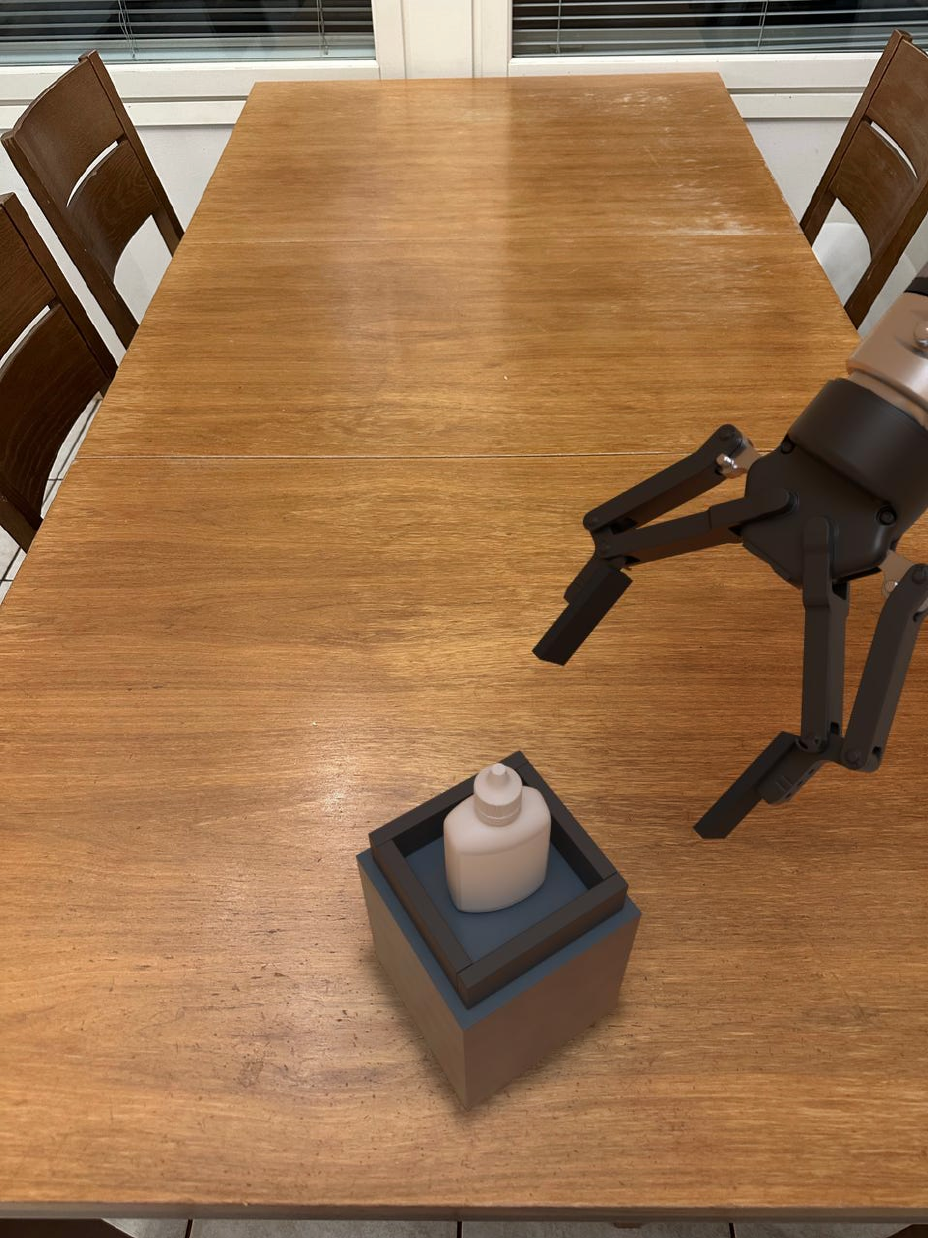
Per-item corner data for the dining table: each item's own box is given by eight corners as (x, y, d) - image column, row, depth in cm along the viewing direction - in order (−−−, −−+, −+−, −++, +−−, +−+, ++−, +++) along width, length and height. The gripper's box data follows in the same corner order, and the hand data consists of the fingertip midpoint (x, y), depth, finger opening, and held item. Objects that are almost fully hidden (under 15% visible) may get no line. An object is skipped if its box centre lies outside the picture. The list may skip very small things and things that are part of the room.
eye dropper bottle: (540, 926, 53) (551, 816, 44) (441, 911, 54) (433, 800, 45) (548, 856, 56) (560, 739, 47) (454, 842, 57) (449, 725, 48)
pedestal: (615, 1008, 65) (649, 888, 51) (467, 1112, 60) (462, 1011, 47) (515, 872, 71) (522, 735, 58) (376, 956, 67) (349, 830, 54)
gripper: (691, 273, 49) (456, 586, 55) (1144, 548, 35) (763, 930, 41) (745, 333, 55) (527, 610, 61) (1152, 589, 41) (817, 919, 47)
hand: (621, 740), depth 51 cm, fingers open, 13 cm apart
